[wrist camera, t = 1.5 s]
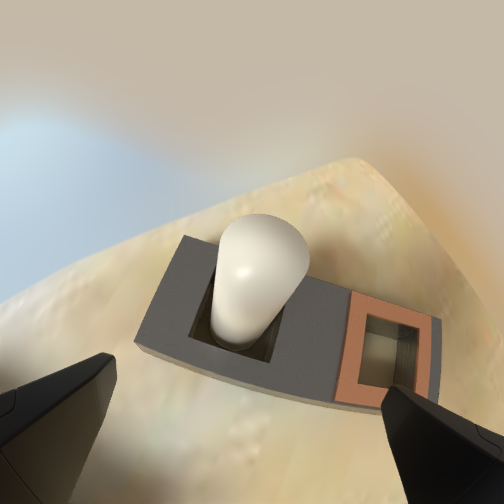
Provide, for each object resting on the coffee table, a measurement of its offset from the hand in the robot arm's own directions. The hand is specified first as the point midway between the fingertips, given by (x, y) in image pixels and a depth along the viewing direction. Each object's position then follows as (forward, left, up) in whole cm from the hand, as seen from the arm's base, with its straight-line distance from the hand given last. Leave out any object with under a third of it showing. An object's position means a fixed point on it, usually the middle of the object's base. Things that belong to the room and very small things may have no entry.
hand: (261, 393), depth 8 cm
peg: (+6, +1, -12) cm, 14 cm away
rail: (+6, -5, -12) cm, 15 cm away
